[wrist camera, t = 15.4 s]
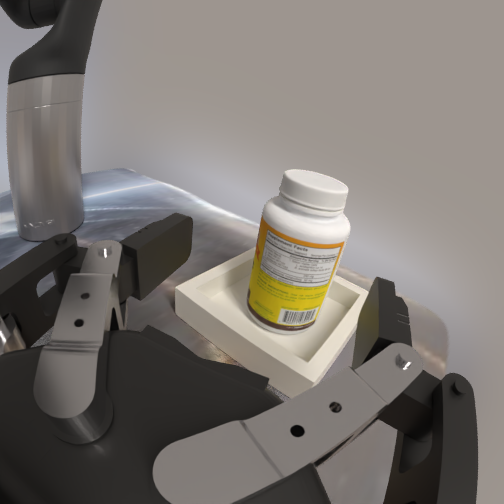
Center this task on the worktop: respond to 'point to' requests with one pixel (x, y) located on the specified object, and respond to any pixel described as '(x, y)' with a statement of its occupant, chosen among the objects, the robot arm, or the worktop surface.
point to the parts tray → (260, 339)
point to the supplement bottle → (297, 252)
